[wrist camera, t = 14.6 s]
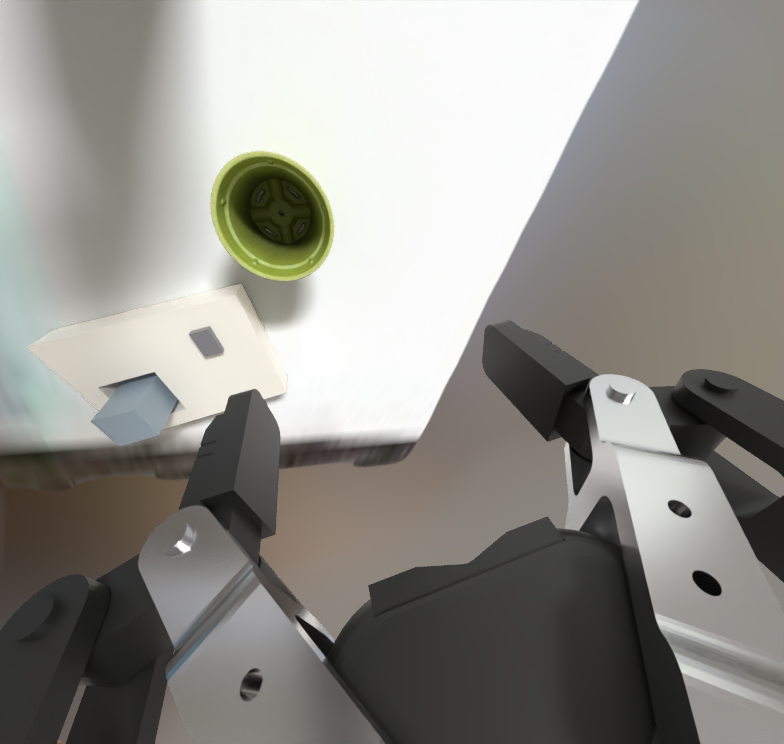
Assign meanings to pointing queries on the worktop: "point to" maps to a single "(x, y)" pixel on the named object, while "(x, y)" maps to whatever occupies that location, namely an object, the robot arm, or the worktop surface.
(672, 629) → the robot arm
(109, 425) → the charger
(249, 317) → the outlet plate
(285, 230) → the plant pot
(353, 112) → the worktop surface
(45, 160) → the worktop surface
